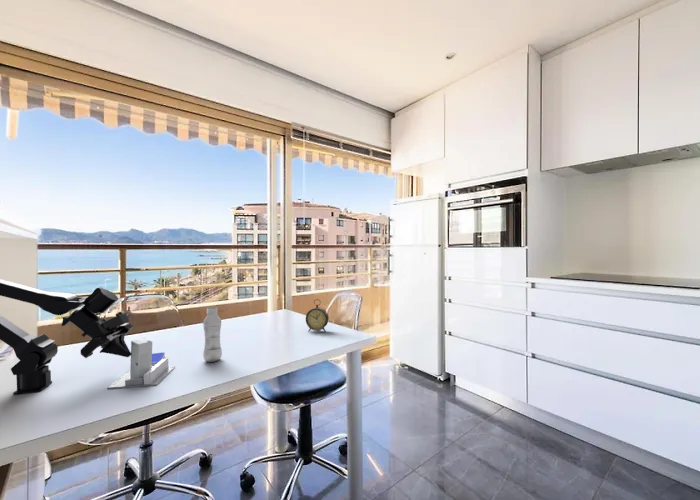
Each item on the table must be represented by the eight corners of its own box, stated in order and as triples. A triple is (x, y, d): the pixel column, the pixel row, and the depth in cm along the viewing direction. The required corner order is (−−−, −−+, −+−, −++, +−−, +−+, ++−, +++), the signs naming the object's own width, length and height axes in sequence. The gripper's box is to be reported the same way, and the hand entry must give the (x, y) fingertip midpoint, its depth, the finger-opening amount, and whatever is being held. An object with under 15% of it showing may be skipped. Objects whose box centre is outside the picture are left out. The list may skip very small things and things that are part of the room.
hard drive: (159, 362, 110) (164, 352, 121) (131, 365, 107) (140, 354, 118) (159, 366, 110) (164, 356, 121) (131, 370, 107) (140, 358, 118)
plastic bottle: (217, 356, 121) (217, 305, 121) (225, 360, 116) (224, 308, 116) (200, 360, 117) (199, 308, 116) (207, 365, 112) (206, 310, 111)
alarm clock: (305, 332, 152) (305, 299, 152) (308, 329, 158) (308, 297, 157) (326, 333, 151) (326, 300, 150) (329, 330, 156) (329, 298, 156)
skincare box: (129, 377, 101) (129, 340, 101) (144, 372, 105) (144, 337, 105) (137, 382, 98) (137, 344, 98) (152, 377, 101) (152, 340, 101)
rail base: (107, 388, 94) (107, 376, 94) (132, 370, 108) (131, 359, 108) (156, 385, 97) (156, 373, 96) (175, 367, 110) (174, 356, 110)
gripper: (90, 312, 90) (133, 347, 92) (126, 300, 109) (161, 329, 111) (61, 340, 89) (104, 375, 91) (102, 323, 108) (137, 352, 110)
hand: (129, 355), depth 101 cm, fingers closed
